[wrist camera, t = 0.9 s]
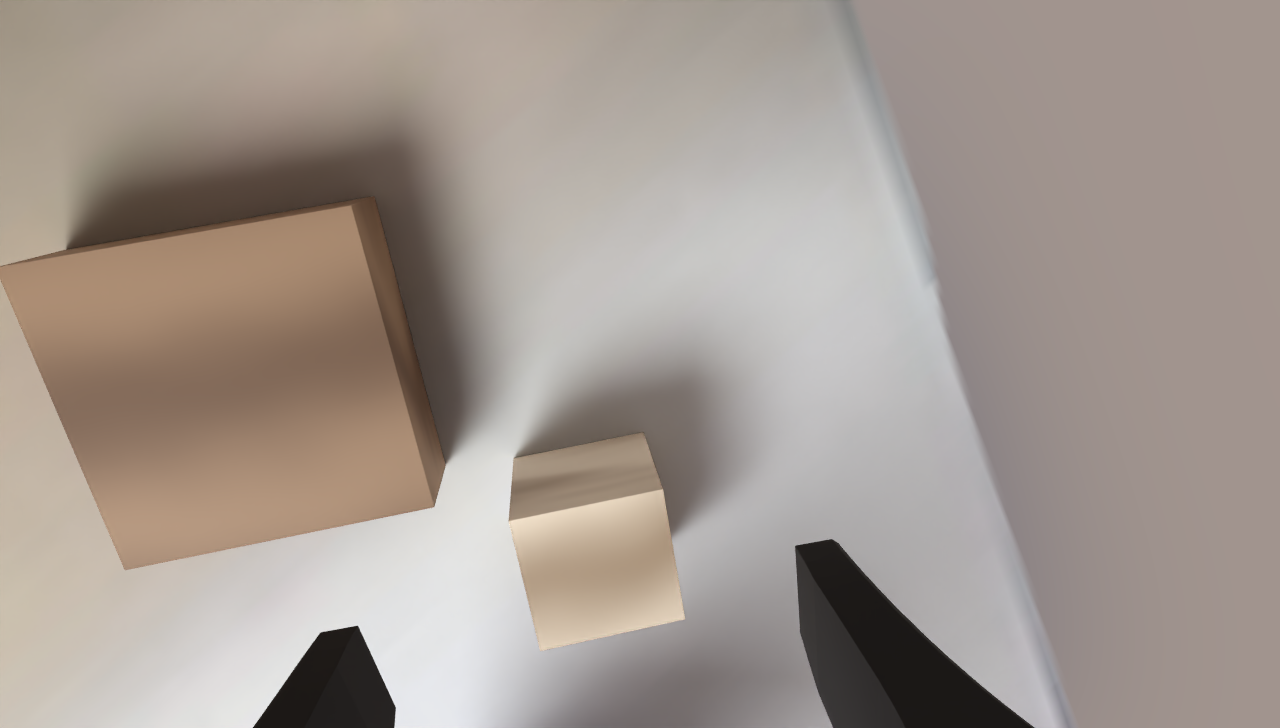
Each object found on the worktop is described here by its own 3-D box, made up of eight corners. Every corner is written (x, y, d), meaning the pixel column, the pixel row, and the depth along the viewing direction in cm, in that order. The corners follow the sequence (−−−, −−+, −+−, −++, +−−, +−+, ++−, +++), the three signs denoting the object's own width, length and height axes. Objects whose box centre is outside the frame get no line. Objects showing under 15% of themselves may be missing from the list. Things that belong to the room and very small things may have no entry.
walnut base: (445, 465, 26) (434, 507, 23) (171, 520, 25) (125, 570, 22) (374, 196, 23) (351, 205, 20) (64, 250, 22) (-5, 267, 20)
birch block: (662, 544, 28) (685, 619, 24) (540, 570, 28) (540, 651, 23) (643, 431, 26) (662, 489, 22) (513, 457, 26) (508, 520, 22)
